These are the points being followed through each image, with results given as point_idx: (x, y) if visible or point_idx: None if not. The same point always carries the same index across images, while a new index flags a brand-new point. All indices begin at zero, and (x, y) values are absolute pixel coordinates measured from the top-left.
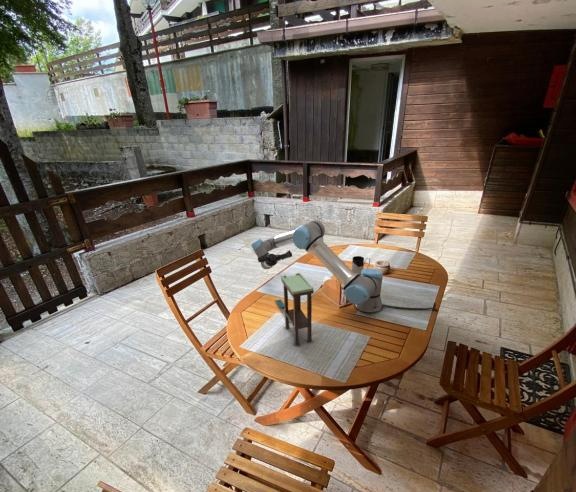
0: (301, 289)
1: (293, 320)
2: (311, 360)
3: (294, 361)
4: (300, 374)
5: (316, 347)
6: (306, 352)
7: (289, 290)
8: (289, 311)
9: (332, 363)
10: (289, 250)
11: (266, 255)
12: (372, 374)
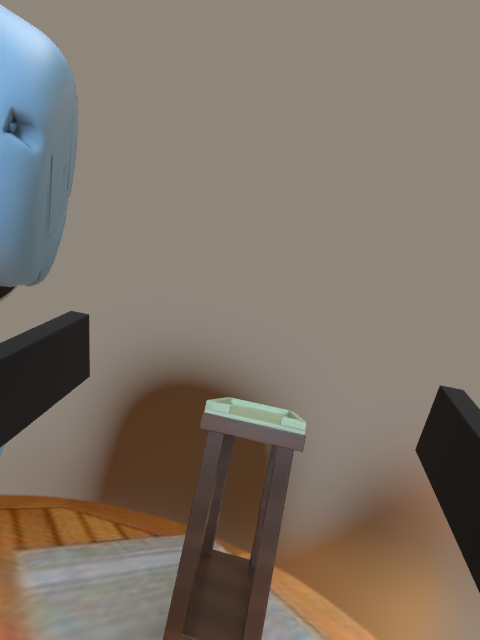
0: (259, 410)
1: (249, 586)
2: None
3: (277, 610)
4: (278, 580)
5: None
6: None
7: None
8: (235, 637)
9: None
10: (79, 313)
11: (434, 404)
12: (146, 518)
